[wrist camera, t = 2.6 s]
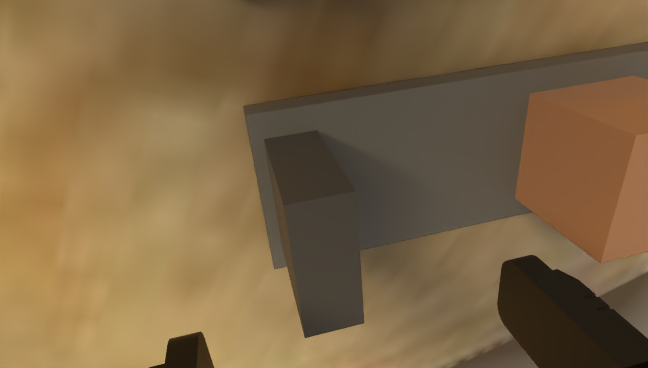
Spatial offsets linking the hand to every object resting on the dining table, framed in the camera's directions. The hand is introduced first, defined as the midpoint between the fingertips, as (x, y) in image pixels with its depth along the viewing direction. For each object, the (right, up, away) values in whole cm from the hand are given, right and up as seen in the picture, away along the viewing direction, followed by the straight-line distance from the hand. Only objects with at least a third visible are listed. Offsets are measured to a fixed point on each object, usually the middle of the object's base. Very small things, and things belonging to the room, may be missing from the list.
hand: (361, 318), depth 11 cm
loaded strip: (+6, +5, +8) cm, 12 cm away
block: (+10, +5, +8) cm, 14 cm away
